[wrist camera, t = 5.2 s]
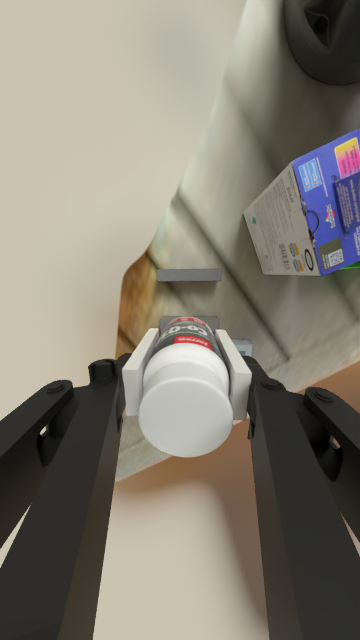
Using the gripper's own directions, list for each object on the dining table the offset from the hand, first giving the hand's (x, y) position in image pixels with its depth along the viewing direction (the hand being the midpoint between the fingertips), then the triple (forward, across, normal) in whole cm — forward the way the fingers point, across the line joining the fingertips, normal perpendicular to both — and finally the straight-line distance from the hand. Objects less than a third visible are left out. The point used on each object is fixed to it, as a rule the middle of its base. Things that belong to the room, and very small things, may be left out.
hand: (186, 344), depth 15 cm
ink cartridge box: (+15, +12, +11) cm, 22 cm away
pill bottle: (+1, 0, 0) cm, 1 cm away
